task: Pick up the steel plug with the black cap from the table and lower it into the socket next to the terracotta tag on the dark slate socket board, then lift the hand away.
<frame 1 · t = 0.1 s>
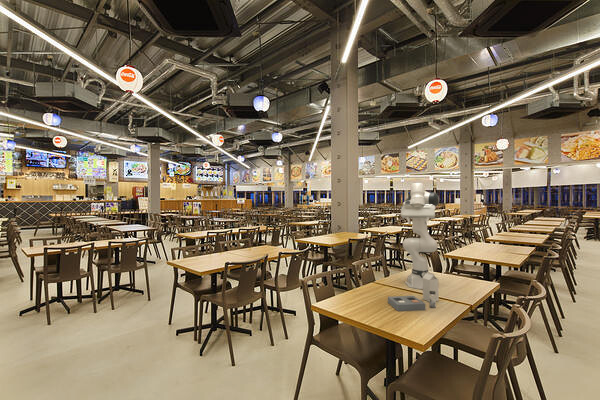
hand: (417, 223, 179), 54 cm above the table, tool tilted 30°, fingers open, 8 cm apart
socket board: (405, 306, 187), on the table
plug: (432, 307, 185), on the table
milk carton: (430, 300, 198), on the table
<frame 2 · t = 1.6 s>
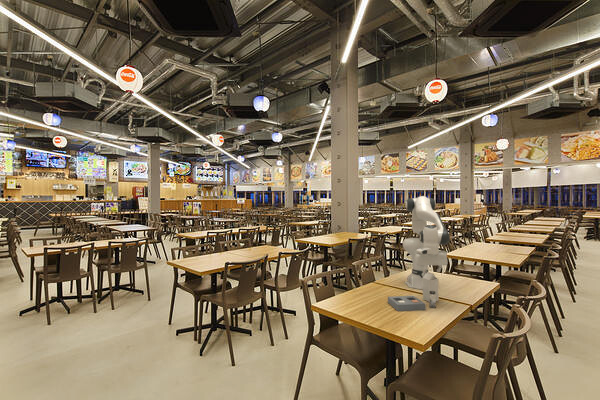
hand: (431, 272, 184), 23 cm above the table, tool pointing down, fingers open, 8 cm apart
nothing on the table moved.
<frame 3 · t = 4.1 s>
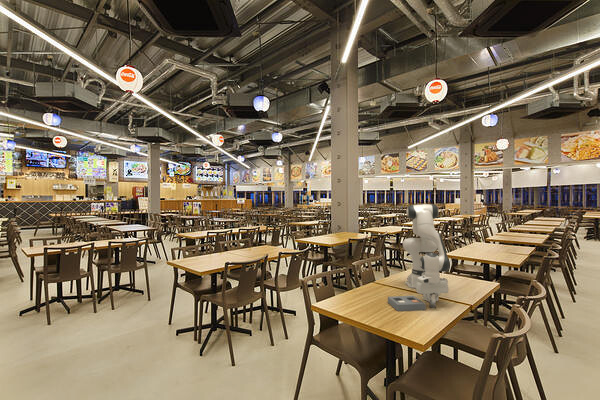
hand: (432, 300, 185), 5 cm above the table, tool pointing down, fingers closed on plug, 3 cm apart
plug: (432, 307, 185), on the table, touching gripper
everything else where it was.
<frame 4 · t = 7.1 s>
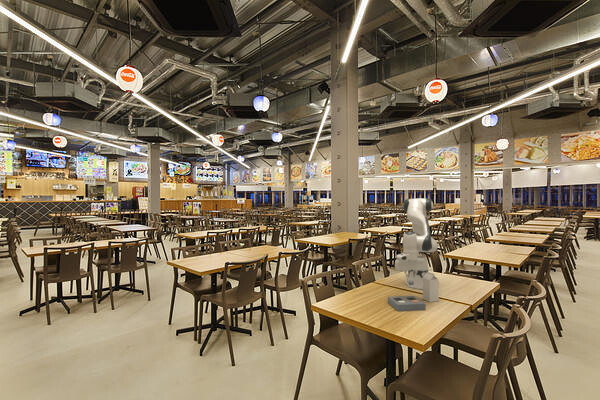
hand: (410, 277, 190), 18 cm above the table, tool pointing down, fingers closed on plug, 3 cm apart
plug: (410, 284, 190), point 14 cm above the table, touching gripper
everything else where it was.
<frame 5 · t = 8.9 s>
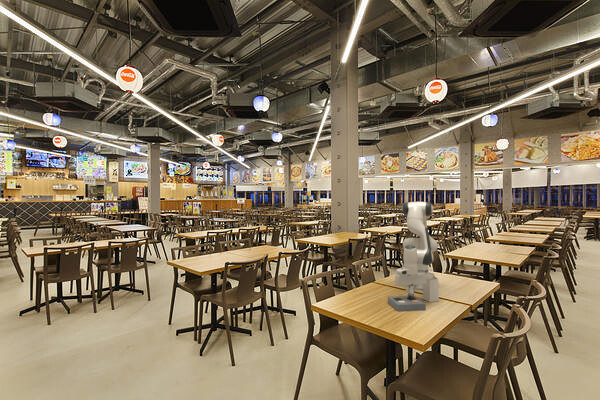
hand: (410, 291, 190), 9 cm above the table, tool pointing down, fingers closed on plug, 3 cm apart
plug: (411, 298, 190), point 4 cm above the table, touching gripper
everything else where it was.
when the fingers open (6 cm above the table, at t = 10.1 s): plug stays where it is, resting in socket board.
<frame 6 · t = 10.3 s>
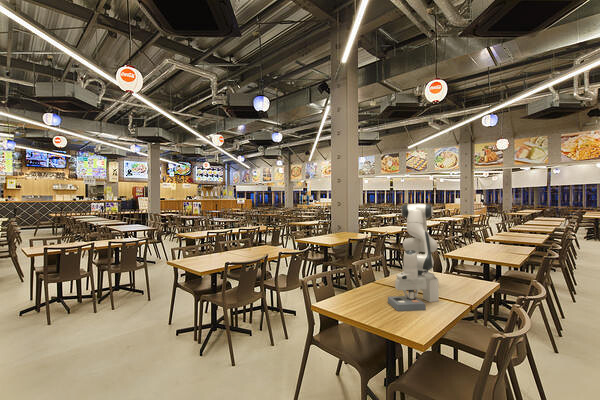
hand: (411, 296, 190), 6 cm above the table, tool pointing down, fingers open, 5 cm apart
plug: (411, 304, 190), resting in socket board
everything else where it was.
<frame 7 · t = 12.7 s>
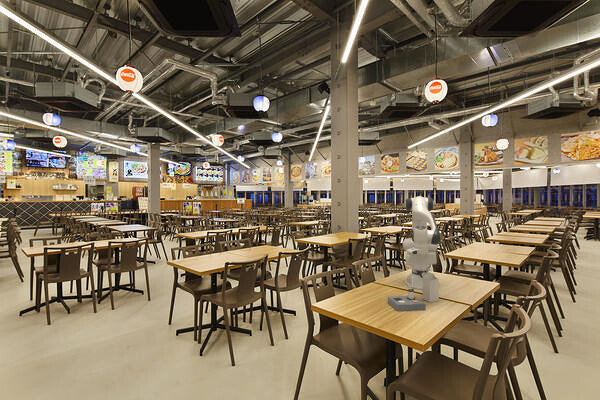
hand: (421, 271, 192), 22 cm above the table, tool pointing down, fingers open, 8 cm apart
nothing on the table moved.
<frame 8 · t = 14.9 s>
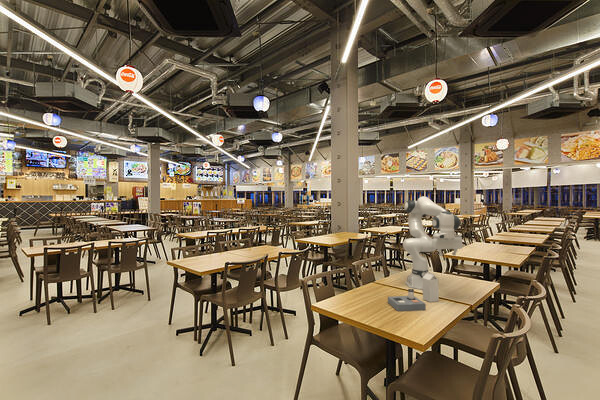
hand: (447, 255, 197), 31 cm above the table, tool pointing down, fingers open, 8 cm apart
nothing on the table moved.
at the end: plug 0.1 cm from the target spot on the socket board, point 0.0 cm above the socket board's base; plug tilted 0°; the gripper is holding nothing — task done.
